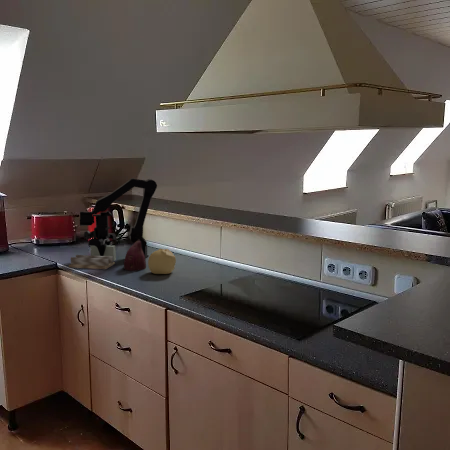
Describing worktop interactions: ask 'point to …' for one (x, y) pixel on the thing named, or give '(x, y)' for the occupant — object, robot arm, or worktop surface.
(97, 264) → the track
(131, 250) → the vegetable
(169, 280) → the worktop surface
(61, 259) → the worktop surface
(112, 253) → the rectangular block
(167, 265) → the yellow rounded lump
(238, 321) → the worktop surface
